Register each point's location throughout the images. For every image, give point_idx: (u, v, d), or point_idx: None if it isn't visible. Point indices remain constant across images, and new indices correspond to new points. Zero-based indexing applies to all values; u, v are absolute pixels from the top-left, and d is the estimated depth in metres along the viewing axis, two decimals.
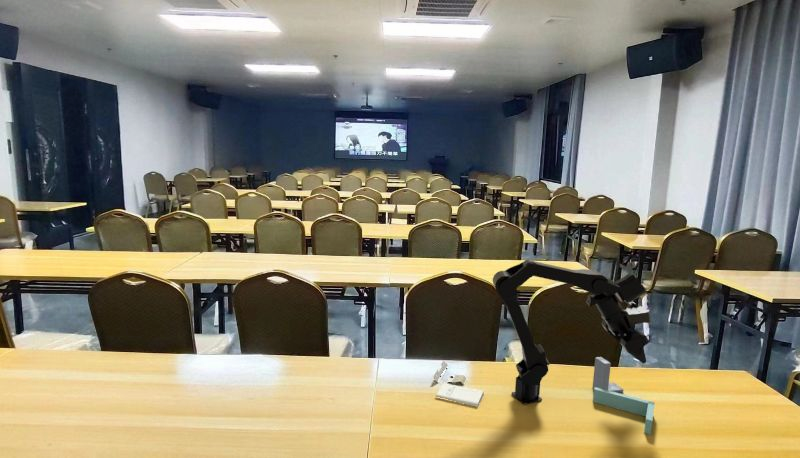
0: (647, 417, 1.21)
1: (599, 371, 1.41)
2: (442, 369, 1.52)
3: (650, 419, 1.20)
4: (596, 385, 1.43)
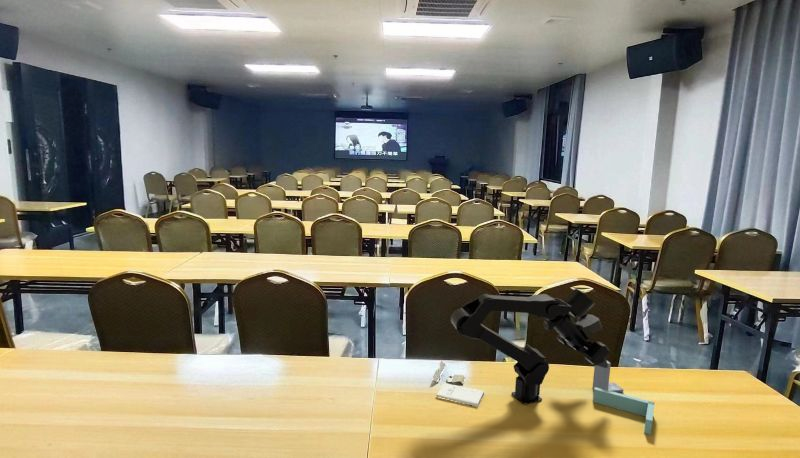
0: (647, 417, 1.21)
1: (599, 371, 1.41)
2: (441, 369, 1.52)
3: (650, 419, 1.20)
4: (596, 385, 1.43)
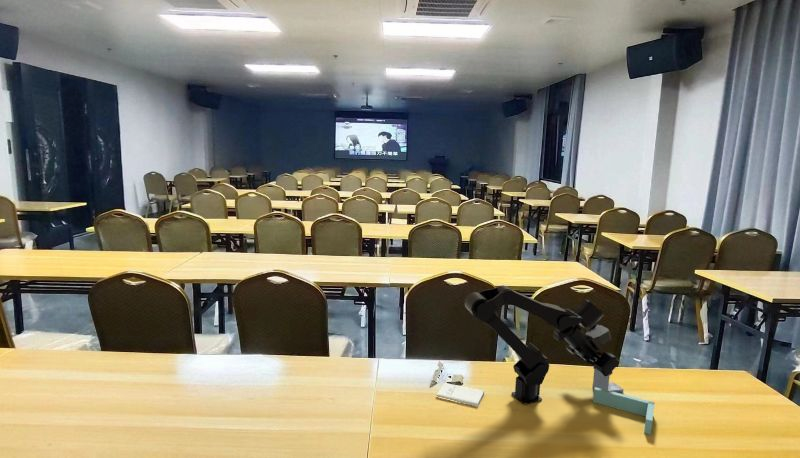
0: (647, 417, 1.21)
1: None
2: (439, 369, 1.52)
3: (650, 419, 1.20)
4: (596, 385, 1.43)
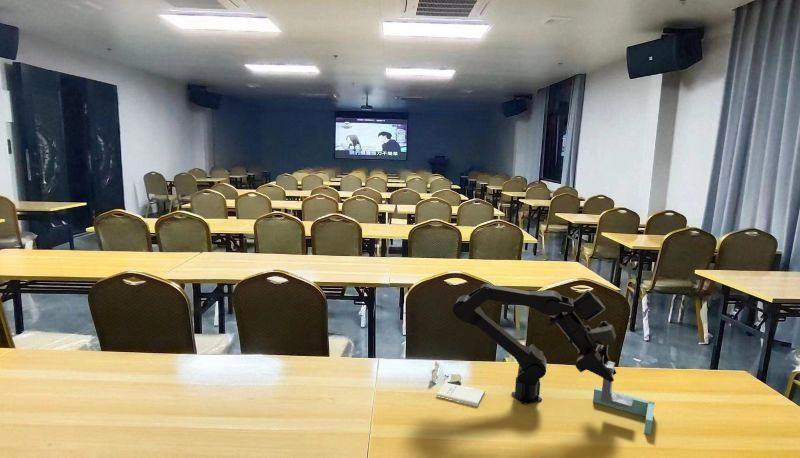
0: (647, 417, 1.21)
1: None
2: (436, 370, 1.52)
3: (650, 419, 1.20)
4: None
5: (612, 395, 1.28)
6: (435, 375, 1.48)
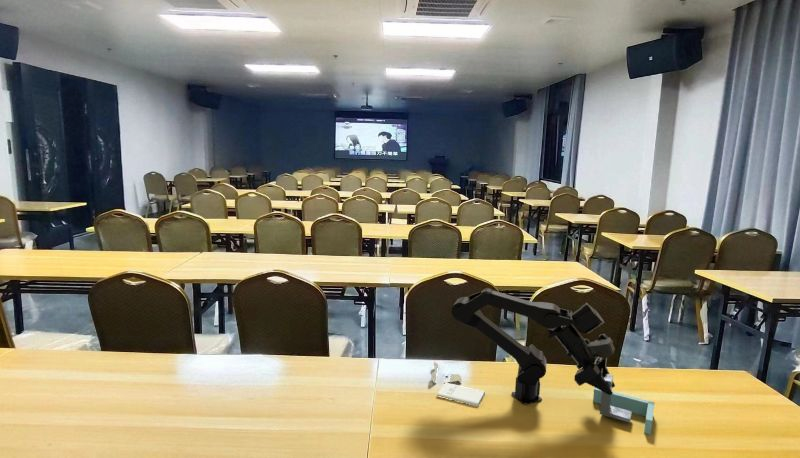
0: (647, 417, 1.21)
1: None
2: (435, 370, 1.51)
3: (650, 419, 1.20)
4: None
5: (611, 408, 1.28)
6: (434, 375, 1.48)
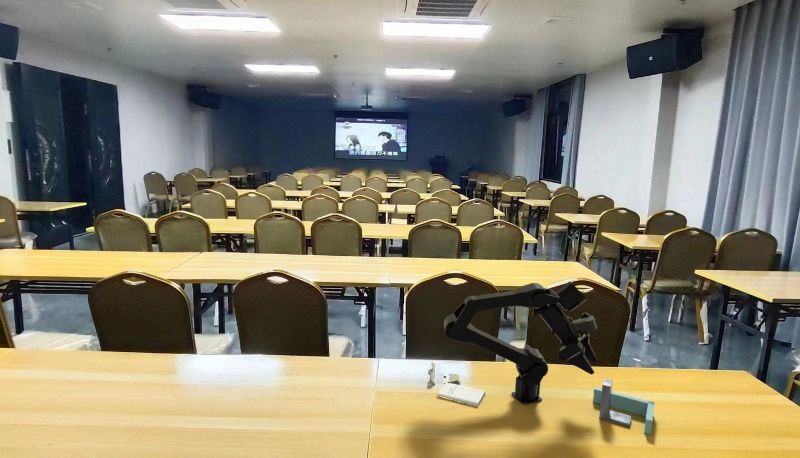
0: (647, 417, 1.21)
1: None
2: (433, 370, 1.51)
3: (650, 419, 1.20)
4: None
5: (611, 413, 1.28)
6: (433, 376, 1.47)
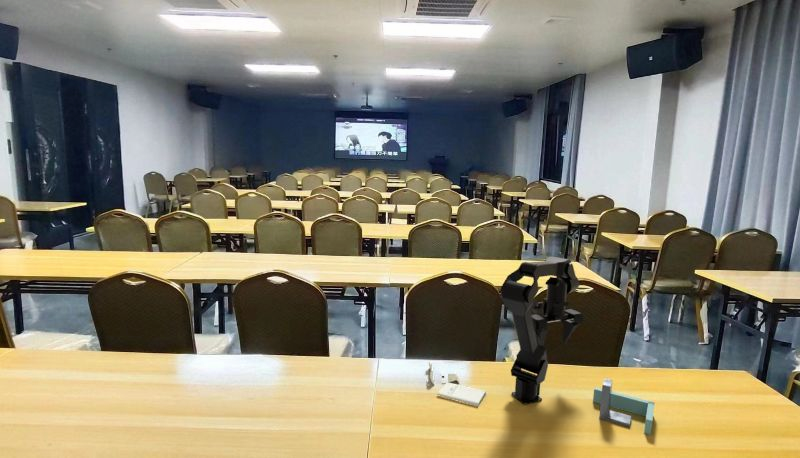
0: (647, 417, 1.21)
1: None
2: (431, 371, 1.51)
3: (650, 419, 1.20)
4: None
5: (611, 413, 1.28)
6: (432, 376, 1.47)
